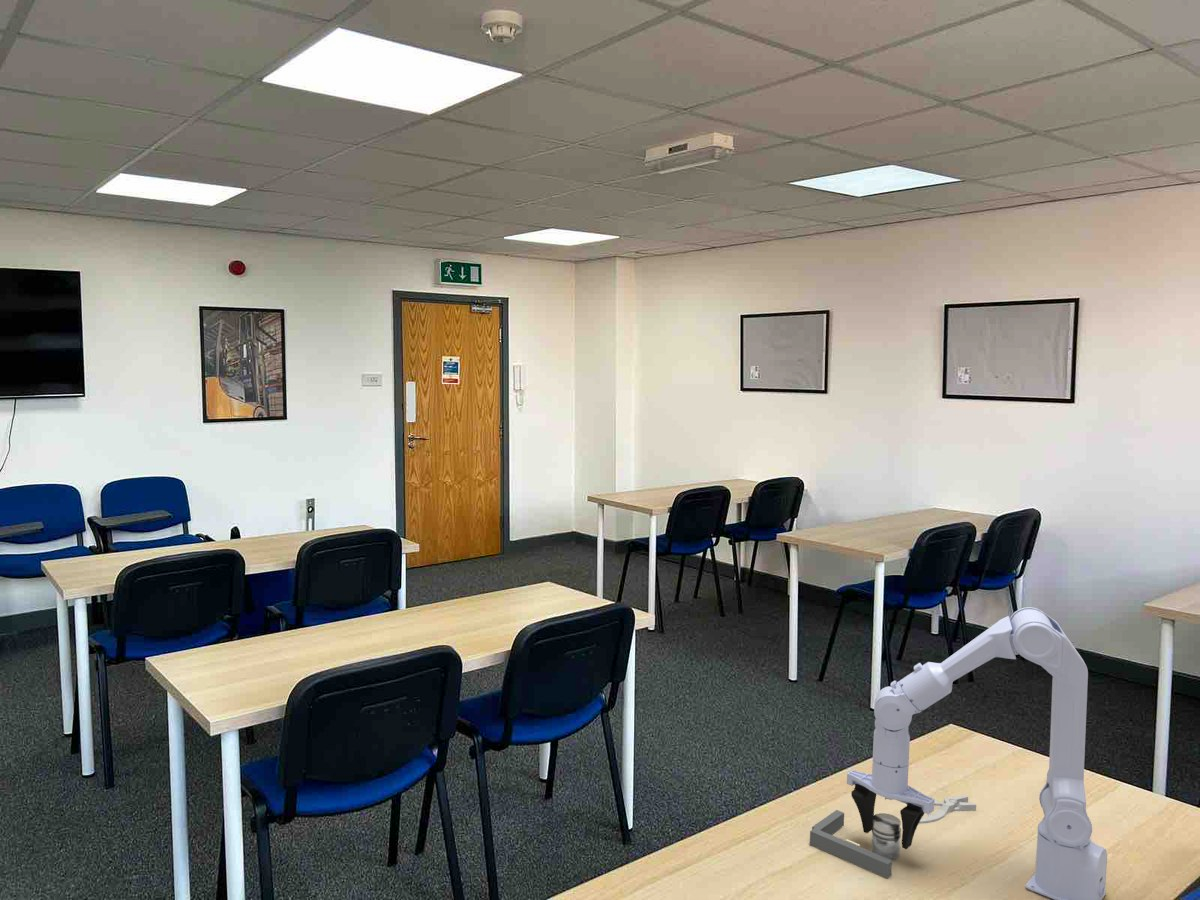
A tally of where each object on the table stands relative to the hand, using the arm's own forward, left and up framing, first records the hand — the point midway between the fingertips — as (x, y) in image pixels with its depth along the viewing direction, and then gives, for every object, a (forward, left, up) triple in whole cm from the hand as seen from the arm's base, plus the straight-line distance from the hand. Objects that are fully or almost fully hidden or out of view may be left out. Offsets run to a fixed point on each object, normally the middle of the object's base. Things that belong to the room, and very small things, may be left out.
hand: (887, 838), depth 143 cm
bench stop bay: (+4, +2, -3) cm, 5 cm away
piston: (0, 0, -3) cm, 3 cm away
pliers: (+1, -21, -3) cm, 22 cm away
